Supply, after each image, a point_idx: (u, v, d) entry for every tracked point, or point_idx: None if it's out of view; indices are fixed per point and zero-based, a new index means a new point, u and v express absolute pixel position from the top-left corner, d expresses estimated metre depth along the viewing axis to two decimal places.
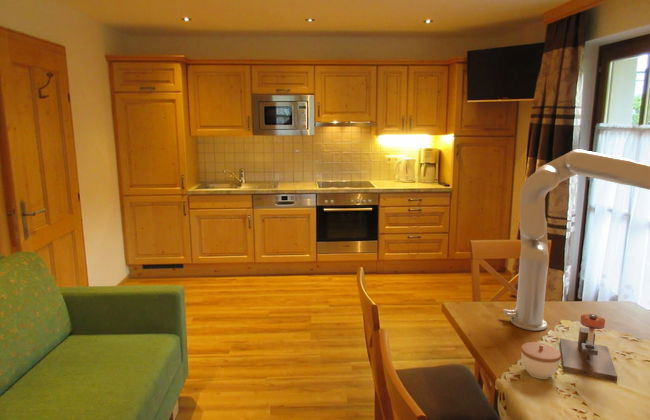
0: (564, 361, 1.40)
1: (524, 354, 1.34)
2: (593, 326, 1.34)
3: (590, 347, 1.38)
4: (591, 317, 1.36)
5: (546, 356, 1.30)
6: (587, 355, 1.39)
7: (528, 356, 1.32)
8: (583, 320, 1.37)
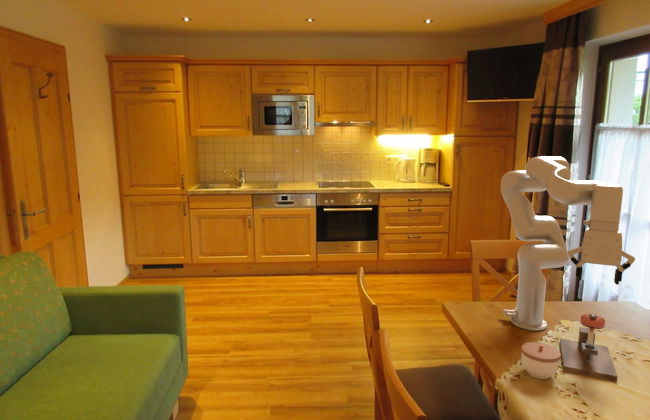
0: (564, 361, 1.40)
1: (524, 354, 1.34)
2: (593, 326, 1.34)
3: (590, 347, 1.38)
4: (591, 317, 1.36)
5: (546, 356, 1.30)
6: (587, 355, 1.39)
7: (528, 356, 1.32)
8: (583, 320, 1.37)
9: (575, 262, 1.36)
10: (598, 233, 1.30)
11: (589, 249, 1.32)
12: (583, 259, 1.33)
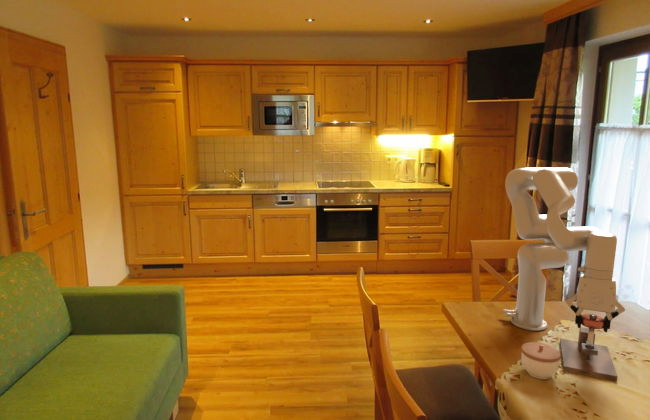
0: (564, 361, 1.40)
1: (524, 354, 1.34)
2: (593, 326, 1.34)
3: (590, 347, 1.38)
4: (591, 317, 1.36)
5: (546, 356, 1.30)
6: (587, 355, 1.39)
7: (528, 356, 1.32)
8: (583, 320, 1.37)
9: (574, 310, 1.38)
10: (592, 280, 1.33)
11: (583, 295, 1.34)
12: (578, 305, 1.36)
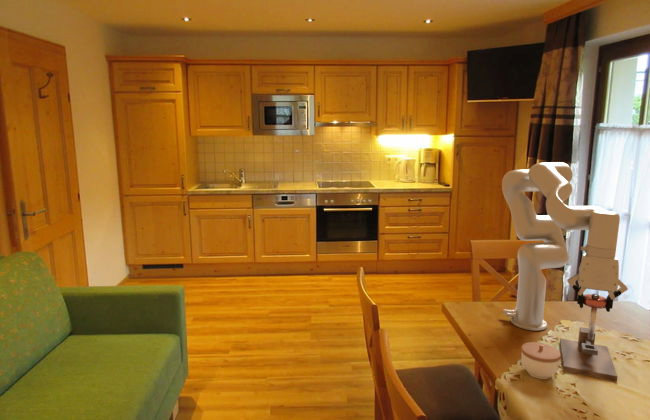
0: (564, 361, 1.40)
1: (524, 354, 1.34)
2: (595, 305, 1.33)
3: (592, 327, 1.37)
4: (593, 297, 1.35)
5: (546, 356, 1.30)
6: (589, 335, 1.38)
7: (528, 356, 1.32)
8: (585, 300, 1.35)
9: (577, 290, 1.37)
10: (595, 259, 1.32)
11: (586, 274, 1.33)
12: (580, 284, 1.34)
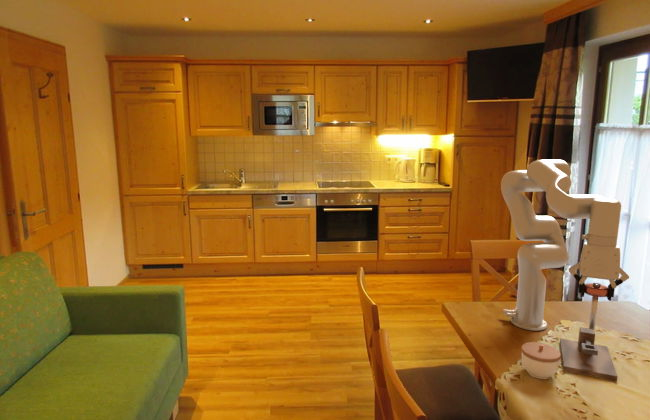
0: (564, 361, 1.40)
1: (524, 354, 1.34)
2: (597, 294, 1.33)
3: (594, 316, 1.36)
4: (595, 285, 1.34)
5: (546, 356, 1.30)
6: (590, 325, 1.37)
7: (528, 356, 1.32)
8: (586, 289, 1.35)
9: (578, 279, 1.36)
10: (596, 248, 1.31)
11: (587, 263, 1.33)
12: (581, 273, 1.34)
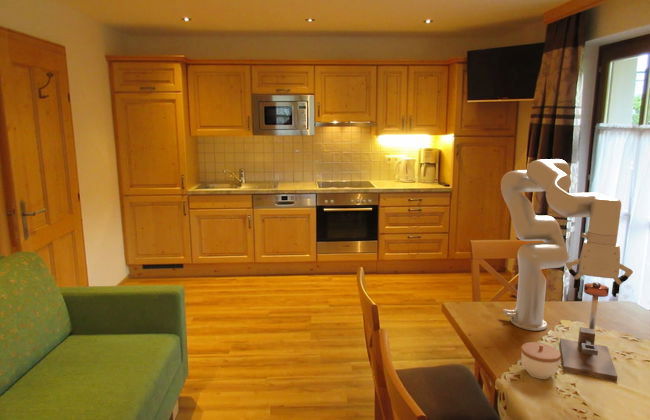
0: (564, 361, 1.40)
1: (524, 354, 1.34)
2: (597, 294, 1.32)
3: (594, 316, 1.36)
4: (595, 285, 1.34)
5: (546, 356, 1.30)
6: (590, 324, 1.37)
7: (528, 356, 1.32)
8: (586, 288, 1.35)
9: (573, 274, 1.37)
10: (596, 246, 1.31)
11: (587, 261, 1.33)
12: (581, 271, 1.34)
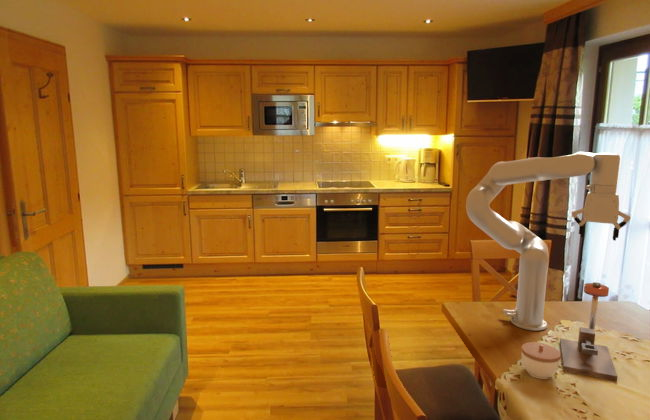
0: (564, 361, 1.40)
1: (524, 354, 1.34)
2: (597, 294, 1.32)
3: (594, 316, 1.36)
4: (595, 285, 1.34)
5: (546, 356, 1.30)
6: (590, 324, 1.37)
7: (528, 356, 1.32)
8: (586, 288, 1.35)
9: (578, 221, 1.57)
10: (597, 195, 1.51)
11: (589, 209, 1.53)
12: (584, 218, 1.54)
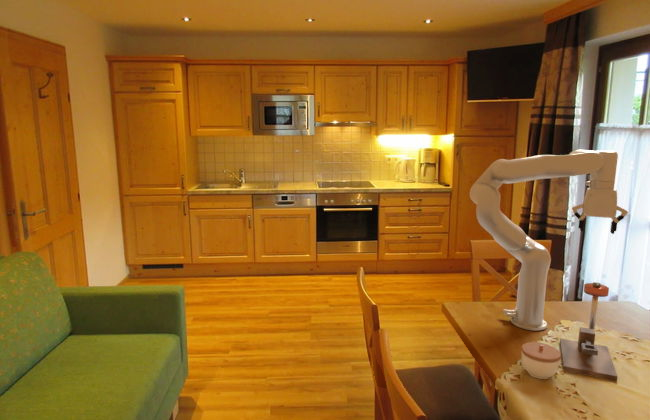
0: (564, 361, 1.40)
1: (524, 354, 1.34)
2: (597, 294, 1.32)
3: (594, 316, 1.36)
4: (595, 285, 1.34)
5: (546, 356, 1.30)
6: (590, 324, 1.37)
7: (528, 356, 1.32)
8: (586, 288, 1.35)
9: (578, 216, 1.63)
10: (597, 191, 1.58)
11: (589, 204, 1.60)
12: (585, 213, 1.61)
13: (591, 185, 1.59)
